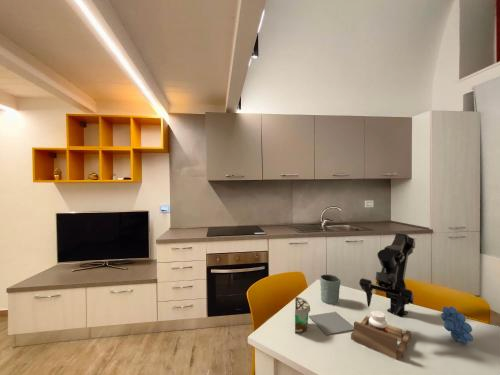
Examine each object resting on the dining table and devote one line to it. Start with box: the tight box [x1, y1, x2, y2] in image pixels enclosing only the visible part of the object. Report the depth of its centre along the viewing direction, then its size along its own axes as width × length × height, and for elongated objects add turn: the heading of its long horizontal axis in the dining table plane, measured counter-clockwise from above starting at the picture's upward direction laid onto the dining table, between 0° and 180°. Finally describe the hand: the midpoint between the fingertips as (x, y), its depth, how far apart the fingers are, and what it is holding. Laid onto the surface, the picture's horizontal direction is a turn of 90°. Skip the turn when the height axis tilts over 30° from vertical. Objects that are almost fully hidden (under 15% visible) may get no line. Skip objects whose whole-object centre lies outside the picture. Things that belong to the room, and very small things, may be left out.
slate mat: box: [308, 311, 354, 336], centre depth 102 cm, size 14×14×1 cm
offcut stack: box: [387, 323, 405, 343], centre depth 96 cm, size 6×12×2 cm, turn 49°
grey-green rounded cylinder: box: [319, 273, 342, 306], centre depth 122 cm, size 10×10×12 cm
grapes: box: [440, 306, 474, 345], centre depth 91 cm, size 12×7×12 cm, turn 9°
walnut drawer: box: [350, 315, 412, 361], centre depth 92 cm, size 18×16×7 cm
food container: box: [294, 296, 311, 335], centre depth 99 cm, size 12×6×10 cm, turn 168°
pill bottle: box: [368, 310, 388, 333], centre depth 89 cm, size 6×6×11 cm
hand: (381, 310), depth 92 cm, fingers open, 9 cm apart
